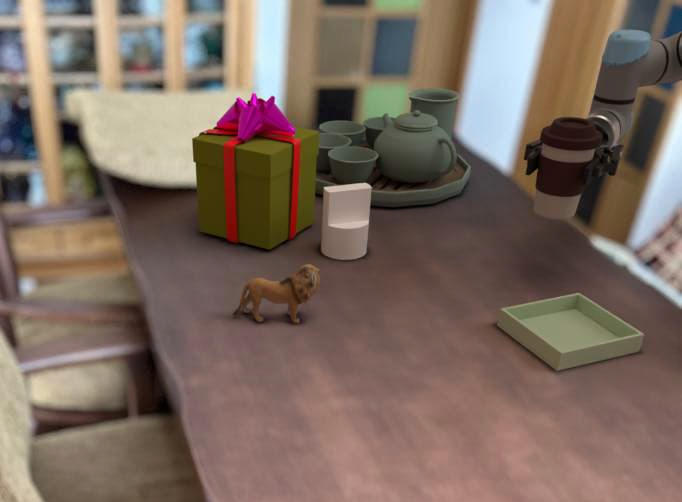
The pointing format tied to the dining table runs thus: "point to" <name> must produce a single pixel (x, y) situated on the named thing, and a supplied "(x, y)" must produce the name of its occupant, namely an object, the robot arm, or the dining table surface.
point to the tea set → (397, 153)
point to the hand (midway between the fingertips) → (556, 171)
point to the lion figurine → (281, 291)
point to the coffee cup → (564, 166)
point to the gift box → (255, 175)
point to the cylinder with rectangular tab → (345, 221)
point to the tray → (569, 331)
